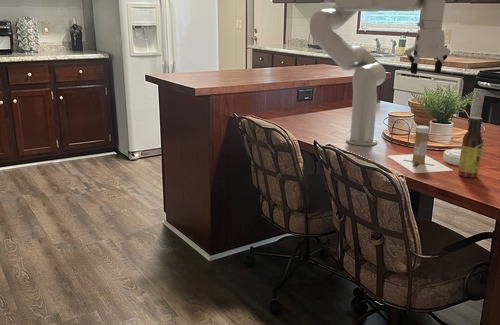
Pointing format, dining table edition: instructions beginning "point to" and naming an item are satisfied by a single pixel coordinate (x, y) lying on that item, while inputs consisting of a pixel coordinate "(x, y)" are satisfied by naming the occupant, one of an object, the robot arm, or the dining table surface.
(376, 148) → the dining table surface
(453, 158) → the cheese wheel
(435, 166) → the letter sheet
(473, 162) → the sauce bottle
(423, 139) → the sprinkles bottle
